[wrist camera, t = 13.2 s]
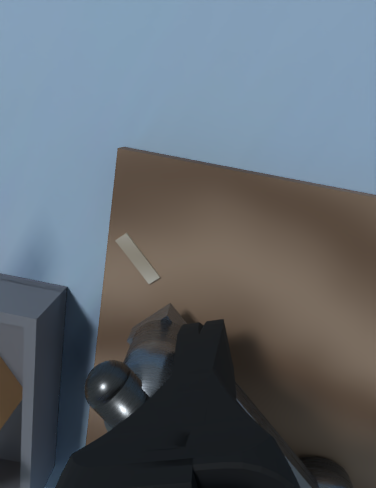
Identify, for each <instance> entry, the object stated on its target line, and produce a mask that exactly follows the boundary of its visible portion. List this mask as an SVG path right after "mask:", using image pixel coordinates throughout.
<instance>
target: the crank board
mask: <svg viewBox="0 0 376 488" xmlns="http://www.w3.org/2000/svg"><path fill="white" fill-rule="evenodd" d="M169 303H171V304H172V305H173V307H174V308H175V309H176V310H177V311H178V313H179V314H180V315H181V316H182V317H183V319H184V320H185V321H186V322H187V323H188V324H191V323H198V322H200V323H201V324H203V325H204V324H205V323H206V321H212V320H219V319H224V323H225V328H226V333H227V338H228V343H229V347H230V352H231V357H232V362H233V367H234V375H235V381H236V383H237V384H238V385H239V386H240V387H241V389H242V390H243V391H244V392H245V393H246V395H247V396H248V397H249V398H250V400H251V401H252V402H253V403H254V404H255V406H256V407H257V408H258V409H259V410H260V412H261V413H262V414H263V415H264V416H265V418H266V419H267V420H268V421H269V422H270V424H271V425H272V426H273V427H274V428H275V430H276V431H277V432H278V433H279V435H280V436H281V437H282V438H283V439H284V441H285V442H286V443H287V444H288V445H289V447H290V448H291V449H292V450H293V451H294V453H295V454H296V455H297V456H298V457H299V458H302V457H321V458H325V459H329V460H331V461H333V462H336V463H337V464H339V465H340V466H341V467H343V468H344V469H345V471H346V472H347V473H348V475H349V477H350V480H351V483H352V485H353V488H376V195H373V194H368V193H362V192H357V191H352V190H347V189H342V188H336V187H331V186H326V185H321V184H315V183H310V182H305V181H300V180H295V179H289V178H284V177H279V176H274V175H268V174H263V173H258V172H253V171H248V170H242V169H237V168H232V167H227V166H221V165H216V164H211V163H206V162H201V161H195V160H190V159H185V158H180V157H174V156H169V155H164V154H159V153H154V152H148V151H143V150H138V149H133V148H127V147H121V148H118V151H117V160H116V169H115V179H114V188H113V197H112V206H111V216H110V225H109V234H108V243H107V253H106V262H105V271H104V281H103V290H102V299H101V308H100V318H99V327H98V336H97V345H96V355H95V364H94V367H95V366H97V365H98V364H100V363H102V362H104V361H109V360H117V361H120V362H124V359H125V357H126V354H127V352H128V349H129V347H130V344H129V343H128V342H127V339H128V337H129V335H130V332H131V330H132V328H133V327H134V326H135V325H137V324H138V323H140V322H141V321H143V320H145V319H146V318H148V317H149V316H151V315H152V314H154V313H155V312H157V311H158V310H160V309H162V308H163V307H165V306H166V305H168V304H169ZM105 433H107V429H106V427H105V424H104V420H103V419H102V418H101V417H100V416H99V415H98V414H97V413H96V412H95V411H94V410H93V409H92V407H91V406H90V410H89V420H88V429H87V438H86V446H87V445H88V444H90V443H91V442H93V441H95V440H96V439H98V438H99V437H101V436H103V435H104V434H105Z"/></svg>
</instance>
